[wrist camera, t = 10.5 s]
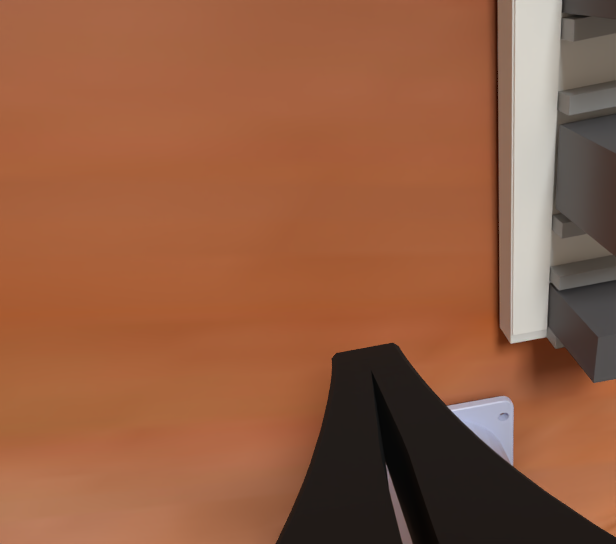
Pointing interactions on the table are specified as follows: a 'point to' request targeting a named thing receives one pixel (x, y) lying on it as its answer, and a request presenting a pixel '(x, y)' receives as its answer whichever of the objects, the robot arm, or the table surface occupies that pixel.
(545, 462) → the table surface
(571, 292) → the panel
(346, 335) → the table surface
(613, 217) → the block
